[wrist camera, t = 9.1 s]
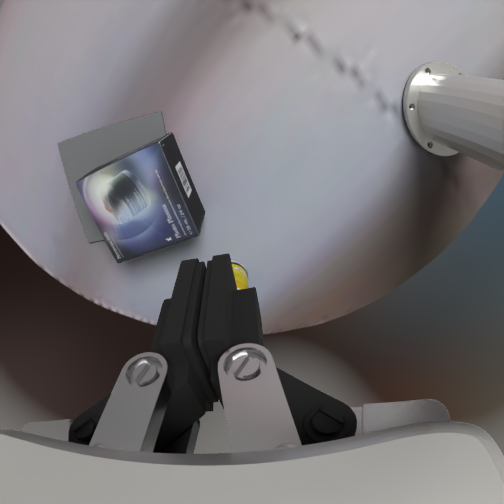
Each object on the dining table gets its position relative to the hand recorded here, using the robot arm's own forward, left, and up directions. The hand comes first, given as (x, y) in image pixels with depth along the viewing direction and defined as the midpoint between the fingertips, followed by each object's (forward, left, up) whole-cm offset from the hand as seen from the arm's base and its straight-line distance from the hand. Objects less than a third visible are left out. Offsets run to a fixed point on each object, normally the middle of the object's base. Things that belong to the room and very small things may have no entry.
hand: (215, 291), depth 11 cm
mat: (+14, +1, -25) cm, 29 cm away
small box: (+5, +2, -22) cm, 22 cm away
